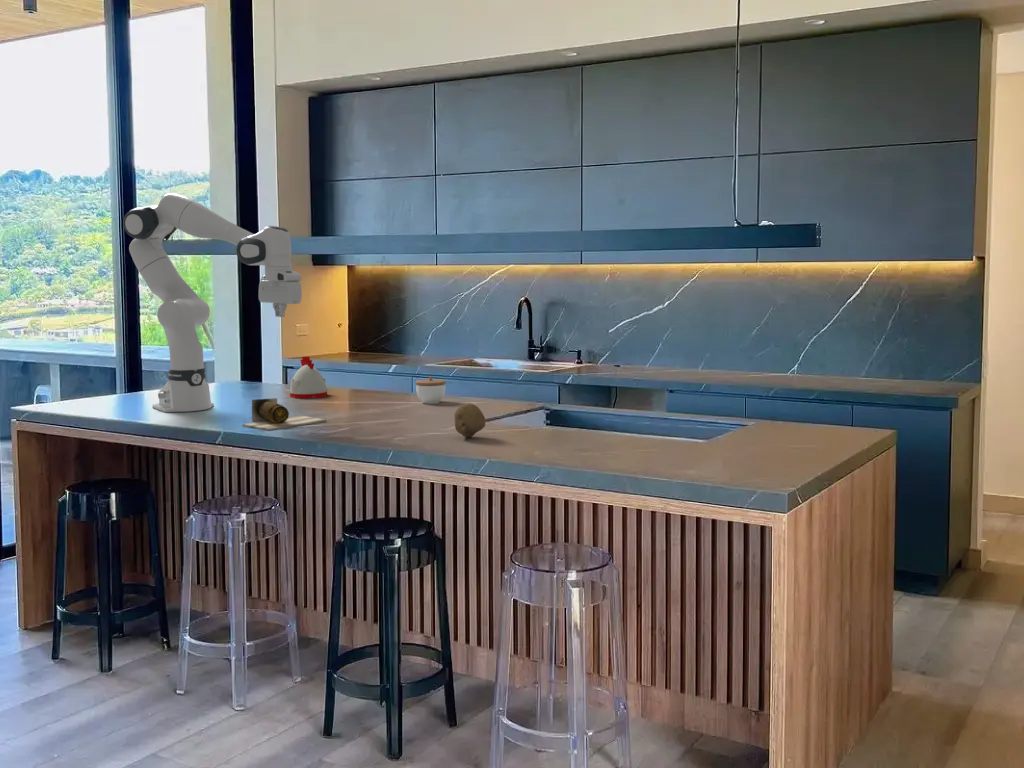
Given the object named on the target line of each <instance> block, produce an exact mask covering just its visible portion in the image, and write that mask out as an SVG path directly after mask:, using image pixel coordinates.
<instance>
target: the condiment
mask: <svg viewBox="0 0 1024 768" xmlns="http://www.w3.org/2000/svg"><path fill="white" fill-rule="evenodd" d="M289 415H290V412H289V409H288V408H286V407H285V406H284V405H282V404H279V403H278V398H276V397H274V398H262V399H261V398H259V399H257V398H256V399H252V400H251V420H252V421H251V423H253V422H260V421H266V420H267V421H271V422H274V423H283V422H285V421H286V420H287V419H288V417H290V416H289Z"/></svg>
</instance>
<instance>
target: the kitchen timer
mask: <svg viewBox="0 0 1024 768" xmlns="http://www.w3.org/2000/svg"><path fill="white" fill-rule="evenodd" d="M300 365H301V367H300V368H298V370H297V371H296V372H295V374H294V375H293V377H292V378H290V388H289V398H292V399H318V398H325V397H327V396H328V389H327V385H326V377H323V375H322V374H321V372H320V371H319V370H318V369H317V368H316V367H315V363H313V360H312V359H310V356H302V358H301V359H300Z"/></svg>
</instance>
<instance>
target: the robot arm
mask: <svg viewBox="0 0 1024 768" xmlns="http://www.w3.org/2000/svg"><path fill="white" fill-rule="evenodd" d="M122 224H123V228H124V231H125V233H126V234H127V235H128V236H130V237H131V238H132V240H131V242H130V244H129V247H128V250H129V251H128V252H129V254H130V256H131V258H132V261H133V263H134V265H135V267H136V268H137V271H138V272H139V273H140V275H141V278H142V279H143V281H144V282H145V283H146V286H148V289H149V290H150V291H151V293H152V294H153V295H154V296H156V297H157V298H159V299H160V300H161V301H162V302H163V303H162V304H161V305H160V306H159V307H158V310H157V314H156V316H157V320H158V322H159V324H160V325H161V326H162V328H163V330H164V334H165V336H166V340H167V344H168V348H169V363H170V365H169V366H170V369H169V370H167V375H168V376H167V377H168V378H167V380H168V381H167V382H166V383H165V384H164V386H162V387H161V389H160V390H159V392H158V393H157V397H158V400H159V401H158V403H155V404H152V408H153V409H156V410H158V411H160V412H163V413H171V412H172V413H174V412H178V413H179V412H181V413H182V412H183V413H184V412H197V411H205V410H209V409H211V408H212V407H215V403H213V402H212V399H211V398H212V397H211V392H210V384H209V383H208V382H207V381H206V379H207V377H206V375H207V372H206V368H205V367H204V366H205V365H204V363H205V362H204V349H203V348H204V346H203V344H202V343H201V341H200V339H199V337H198V333H197V330H196V328H199V327H201V326H202V325H204V324H205V323H206V322H207V321H208V320H209V318H210V314H211V309H210V305H208V303H207V301H205V300H204V299H202V298H201V297H200V296H199V295H198V294H197V293H196V292H195V290H193V288H192V287H191V286H190V285H189V284H188V283H187V282H186V281H185V280H184V279H183V277H182V276H181V274H180V272H179V271H178V270H177V268H176V267H175V265H174V263H173V262H172V260H171V258H170V257H169V256H168V254H167V253H166V251H165V249H164V247H163V242H168V241H169V239H170V237H171V236H172V235H173V234H174V233H175V232H176V231H177V230H180V231H182V232H183V233H185V234H187V235H190V236H192V237H196V238H198V239H208V240H220V241H224V242H228V243H230V244H233V245H235V246H236V247H235V248H236V249H235V250H236V251H235V252H236V256H237V258H238V260H239V261H240V262H241V263H242V264H245V265H247V266H264V274H263V275H262V277H261V278H260V281H259V284H258V300H259V302H260V303H268V304H269V303H271V304H272V308H273V309H274V315H275V318H276V317H277V318H284V317H285V316H286V315H285V314H286V313H285V312H286V310H287V307H288V305H296V304H298V305H299V304H300V303H301V301H302V283H301V280H302V275H301V274H300V273H299V272H297V271H295V270H294V269H293V264H292V261H291V257H292V242H291V234H290V232H289V230H288V229H287V228H285V227H281V226H276V225H275V226H274V225H267V226H265V227H264V228H263V229H262V230H261V231H258V232H257V233H253V232H251V231H249V230H247V229H245V228H242V226H239V225H237V224H234V223H233V222H231V221H229V220H227V219H226V218H224V217H222V216H221V215H219V214H217V213H216V212H215V211H213V210H211V209H210V208H208V207H206V206H204V205H203V204H202V203H200V202H198V201H195V200H194V199H192V198H190V197H187V196H185V195H182V194H178V193H175V192H170V193H166V194H165V195H163V196H162V198H161V199H160V201H159V202H158V204H156V205H155V204H154V205H153V204H152V205H145V206H142V207H141V206H139V207H135V208H132V209H130V210H129V211H127V213H126V214H125V215H124V217H123V222H122ZM287 304H288V305H287Z"/></svg>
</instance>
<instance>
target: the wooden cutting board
mask: <svg viewBox="0 0 1024 768" xmlns="http://www.w3.org/2000/svg"><path fill="white" fill-rule="evenodd" d="M325 422H327V419H324V418H317V417H313V416H306V415H295V416H289V417H288V419H287V420H286V421H285V422H283V423H274V422H271V421H267V420H266V421H260V422H246V423H242V427H245V428H251V429H252V428H253V429H257V430H261V431H274V430H275V431H276V430H281V429H282V430H283V429H287V428H288V429H289V428H294V426H295V427H299V426H300V425H301V426H306V424H308V425H312V424H313V423H314V424H318V423H325ZM314 424H313V425H314ZM301 426H300V427H301Z"/></svg>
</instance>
